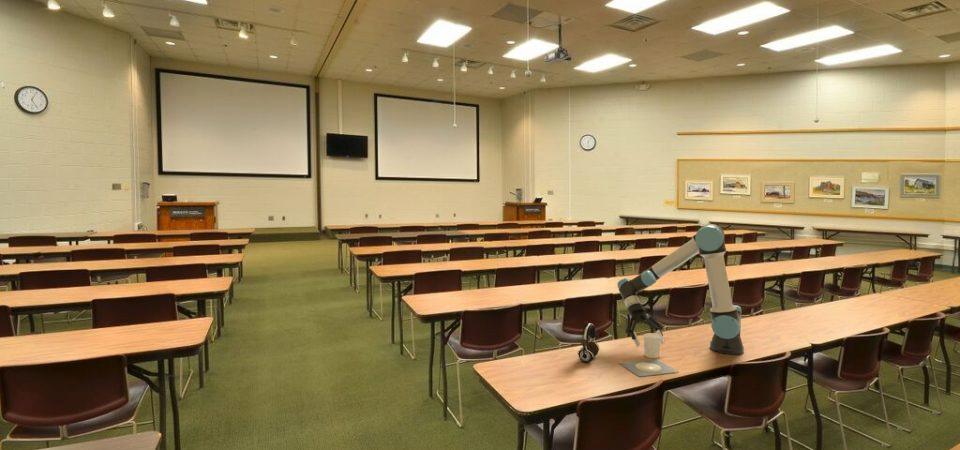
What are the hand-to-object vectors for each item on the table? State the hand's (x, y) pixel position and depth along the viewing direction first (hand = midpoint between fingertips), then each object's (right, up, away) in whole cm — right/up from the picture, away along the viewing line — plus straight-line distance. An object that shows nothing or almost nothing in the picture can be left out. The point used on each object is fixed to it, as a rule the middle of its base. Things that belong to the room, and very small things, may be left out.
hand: (650, 344), depth 223 cm
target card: (-7, -7, -15) cm, 18 cm away
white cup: (+1, -6, 0) cm, 6 cm away
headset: (-31, -6, -4) cm, 32 cm away
